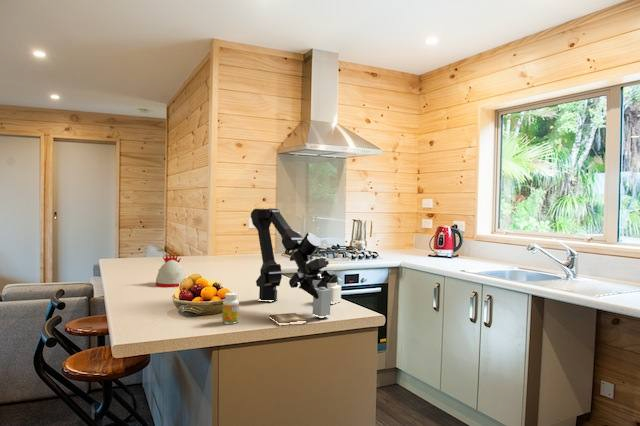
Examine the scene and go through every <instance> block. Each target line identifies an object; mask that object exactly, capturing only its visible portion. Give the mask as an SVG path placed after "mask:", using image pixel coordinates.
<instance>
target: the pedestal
mask: <svg viewBox="0 0 640 426" xmlns="http://www.w3.org/2000/svg"><path fill="white" fill-rule="evenodd" d="M268 317H271V318H272V319H274V320H275V321H277V322H278V323H290V322H297V321H307V322H308V319H307V318H305V317H303V316H302V315H300V314H298V313H296V312H291V313H290V312H288V313H277V314H275V313H274V314H269V316H268Z"/></svg>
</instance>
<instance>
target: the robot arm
mask: <svg viewBox="0 0 640 426" xmlns="http://www.w3.org/2000/svg"><path fill="white" fill-rule="evenodd" d="M250 218H251V221H252V222H251V223H252V225H253V226H254V228H255V229H256V231H257V235H258V241H259V246H260V252H261V253H260V254H261V259H262V260H261V261H262V264H261V268H260V271H259V273H260V274H259V277H258V278H257V279H256V280H255V284H256V287H259V295H258V298H259V299H261V300H276V299H277V300H278V289H277V287H280V285H281V280H282V278H283V271H282V266H281V264H280V263H277V262H276V260H275V255H274V248H273V242H272V238H271V231H270V230H271V229H270V228H271V227H270V226H271V224H272V225H273V227H274V228H275V229H276V231H277V232H278V234H279V235H280V237H281V243H282V245H283V247H284V250H286V251H288V252H290V251H291V252H293V253H291V254H290V257H289V261H290V262H292V261H294V262H295V264H296V266H297V269H296V271H297V272H295V273H294V274H293V275H292V276H291V278H290V279H289V281H288V284H289V286H290V288H292V289H293V288H294V289H295V288H298V289H300V290H303V291H304V292H306V293H308V294H309V295H311V296H312V298H313V297H315V298H316V299H318V297H319V296H318V294H317V292H316V290H315V289H316V287H317V288H319V287H325V288H326V289H328V288H327V283H329V282H330V281H331V280H332V278H333V277H334V276H335V274H336V272H335V271H334V270H332V269H326V270H325V269H324V268H327V267H328V265H329V264H330V263H329V262H330V261H329V259H328V258H327V257H326V256H323V257H320V258H315V259H312V258H311V256H312V255H314V253H315V252H317V250H318V249H319V247H320V246H321V244H322V241H321V239H320V238H319V237H318V236H316V235H314V234H313V233H312V232H307V233H306V234H305V236H304V237H303V236H302V235H301V234H300V233H298V231H297V232H296V231H294V230H293V229H292V227H291V226H290V225H289V223H288V222H287V221H286V219H285V218H284V217H283V215H282V214H281V211H280V209H278V208H254V209H253V210H252V211H251V213H250ZM322 269H324V270H323V272H322ZM321 272H322V273H321ZM320 273H321V274H320ZM314 281H316V282H317V284H316V287H315V286H314V284H313V282H314ZM298 286H299V287H298ZM259 299H258V300H259ZM277 300H276V301H277Z"/></svg>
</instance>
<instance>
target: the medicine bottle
mask: <svg viewBox="0 0 640 426" xmlns="http://www.w3.org/2000/svg"><path fill="white" fill-rule="evenodd" d="M338 278H339V276H338V275H337V274H336V273H335V276H334V277H333V278H332V280H331V281H330V282H329V283H327V288H328V289H330V290H331V301H332V302H334V301H338V300H341V301H342V299H341V298H342V285H339V284H338V280H339V279H338Z"/></svg>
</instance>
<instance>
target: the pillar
mask: <svg viewBox="0 0 640 426" xmlns="http://www.w3.org/2000/svg"><path fill="white" fill-rule="evenodd" d="M315 290H316V292H317V294H318V296H319V297H318V299H316V298H315V297H313V296H312V314H315V315H318V316H326V315H330V316H331V305H330V304H331V290H330V289H326V288H325V287H319V288H318V287H317V288H316V287H315Z"/></svg>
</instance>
